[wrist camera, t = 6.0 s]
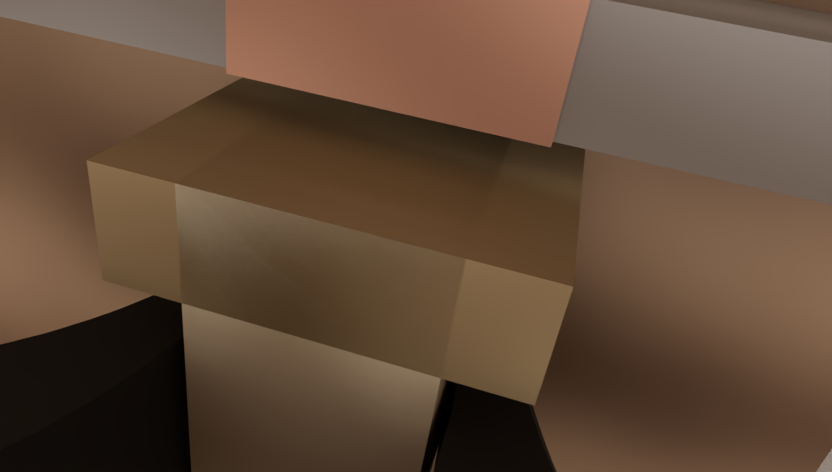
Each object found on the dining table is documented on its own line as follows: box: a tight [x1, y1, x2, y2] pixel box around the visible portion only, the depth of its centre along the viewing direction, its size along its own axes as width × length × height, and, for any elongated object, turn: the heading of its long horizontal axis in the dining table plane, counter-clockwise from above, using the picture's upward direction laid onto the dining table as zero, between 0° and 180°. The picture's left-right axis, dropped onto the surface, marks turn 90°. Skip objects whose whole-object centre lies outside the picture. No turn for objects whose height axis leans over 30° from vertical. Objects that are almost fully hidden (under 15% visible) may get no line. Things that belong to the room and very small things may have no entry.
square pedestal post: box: [87, 77, 585, 472], centre depth 10 cm, size 8×5×4 cm, turn 172°
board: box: [0, 0, 832, 472], centre depth 12 cm, size 12×28×4 cm, turn 82°
